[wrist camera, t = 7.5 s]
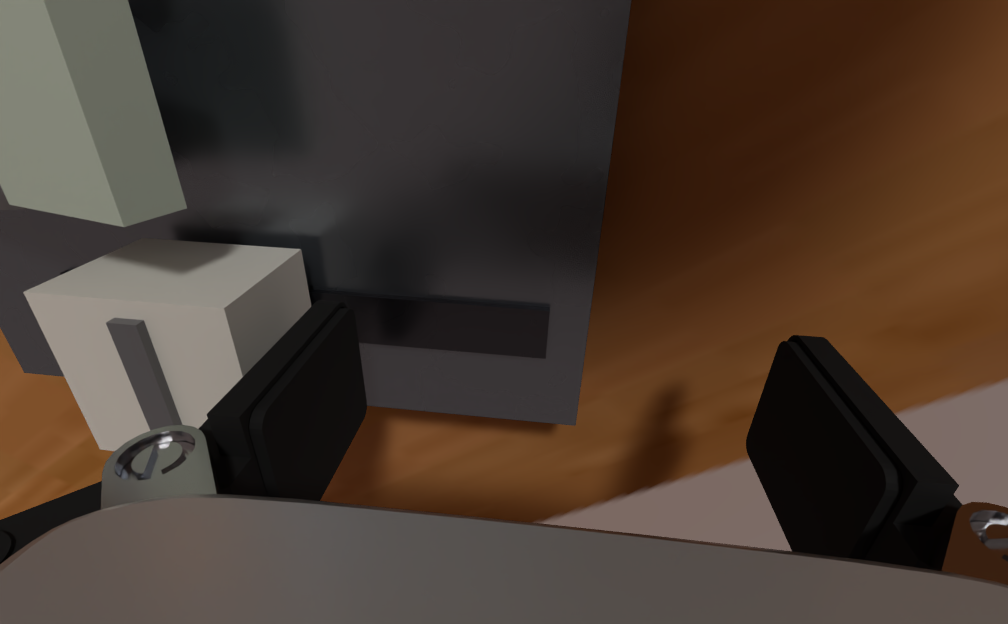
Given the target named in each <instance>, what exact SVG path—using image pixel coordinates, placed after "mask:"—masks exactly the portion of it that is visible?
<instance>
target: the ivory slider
mask: <svg viewBox="0 0 1008 624" xmlns="http://www.w3.org/2000/svg"><path fill="white" fill-rule="evenodd" d="M23 293H24V295H25V297H26V299H27V301H28V303H29V305H30V307H31V309H32V311H33V313H34V315H35V317H36V319H37V321H38V323H39V325H40V328H41V330H42V332H43V334H44V336H45V338H46V340H47V342H48V344H49V346H50V348H51V350H52V352H53V354H54V356H55V358H56V360H57V362H58V364H59V366H60V368H61V370H62V372H63V374H64V376H65V379H66V381H67V383H68V385H69V387H70V389H71V391H72V393H73V395H74V397H75V399H76V401H77V403H78V405H79V407H80V409H81V411H82V413H83V415H84V417H85V419H86V421H87V423H88V425H89V428H90V430H91V432H92V434H93V436H94V438H95V440H96V442H97V444H98V446H99V448H100V449H101V450H110V451H116V450H117V449H118V448H120V447H121V446H122V445H123V444H124V443H126V442H128V441H129V440H131V439H133V438H135V437H137V436H138V435H140V434H143V433H146V432H148V431H151V430H153V429H157V428H161V427H165V426H171V425H187V426H193V427H195V428H197V429H199V427H200V426H201V425H202V424H203V423H204V422H205V421H206V420H207V419H208V417H207V413H208V412H209V411H210V410H211V409H212V408H213V407H214V406H215V405H216V404H217V403H218V402H219V401H220V400H221V399H222V398H223V397H224V396H225V395H226V394H227V393H228V392H229V391H230V390H231V389H232V388H233V387H234V386H235V385H236V384H237V382H238V381H239V380H240V379H241V378H242V377H243V376H244V375H245V374H246V373H247V372H248V371H249V370H250V369H251V368H252V367H253V366H254V365H255V364H256V363H257V362H258V361H259V360H260V359H261V358H262V357H263V356H264V355H265V354H266V353H267V352H268V351H269V350H270V349H271V348H272V347H273V345H274V344H275V343H276V342H277V341H278V340H279V339H280V338H281V337H282V336H283V335H284V334H285V333H286V332H287V331H288V330H289V329H290V328H291V327H292V326H293V325H294V324H295V323H296V322H297V321H298V320H299V319H300V318H301V317H302V316H303V315H304V314H305V313H306V312H307V311H308V310H309V308H310V307H311V301H310V296H309V290H308V285H307V279H306V273H305V268H304V262H303V256H302V251H301V249H292V248H278V247H263V246H249V245H235V244H221V243H207V242H193V241H179V240H164V239H150V238H142V239H139V240H137V241H135V242H133V243H130V244H128V245H126V246H124V247H122V248H119V249H117V250H115V251H113V252H111V253H108V254H106V255H104V256H102V257H100V258H97V259H95V260H93V261H91V262H88V263H86V264H84V265H82V266H80V267H77V268H75V269H73V270H71V271H69V272H66V273H64V274H62V275H60V276H57V277H55V278H53V279H51V280H49V281H46V282H44V283H42V284H40V285H38V286H35V287H33V288H31V289H29V290H26V291H24V292H23Z"/></svg>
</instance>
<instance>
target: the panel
mask: <svg viewBox="0 0 1008 624" xmlns="http://www.w3.org/2000/svg"><path fill="white" fill-rule="evenodd" d="M128 2H129V6H130V9H131V13H132V16H133V20H134V23H135V27H136V30H137V34H138V37H139V41H140V44H141V48H142V51H143V55H144V58H145V62H146V65H147V69H148V72H149V76H150V79H151V83H152V86H153V90H154V93H155V97H156V100H157V104H158V107H159V111H160V114H161V118H162V121H163V125H164V128H165V132H166V135H167V139H168V143H169V146H170V150H171V153H172V157H173V160H174V164H175V167H176V171H177V174H178V178H179V181H180V185H181V188H182V192H183V195H184V199H185V202H186V206H187V208H186V209H183V210H180V211H176V212H173V213H170V214H166V215H163V216H160V217H156V218H153V219H150V220H146V221H143V222H140V223H136V224H133V225H130V226H126V227H121V226H116V225H111V224H105V223H100V222H95V221H90V220H85V219H80V218H75V217H70V216H65V215H60V214H55V213H49V212H44V211H39V210H34V209H29V208H28V209H17V210H0V328H1V330H2V332H3V333H4V335H5V337H6V339H7V341H8V343H9V345H10V347H11V348H12V350H13V352H14V354H15V356H16V358H17V360H18V361H19V363H20V365H21V367H22V369H23V371H24V373H33V374H43V375H54V376H64V374H63V372H62V370H61V368H60V366H59V364H58V362H57V360H56V358H55V356H54V354H53V352H52V350H51V348H50V346H49V344H48V342H47V340H46V338H45V336H44V334H43V332H42V330H41V328H40V325H39V323H38V321H37V319H36V317H35V315H34V313H33V311H32V309H31V307H30V305H29V303H28V301H27V299H26V297H25V295H24V293H23V292H24V291H26V290H29V289H31V288H33V287H35V286H38V285H40V284H42V283H44V282H46V281H49V280H51V279H53V278H55V277H57V276H60V275H62V274H64V273H66V272H69V271H71V270H73V269H75V268H77V267H80V266H82V265H84V264H86V263H88V262H91V261H93V260H95V259H97V258H100V257H102V256H104V255H106V254H108V253H111V252H113V251H115V250H117V249H119V248H122V247H124V246H126V245H128V244H130V243H133V242H135V241H137V240H139V239H142V238H150V239H164V240H179V241H193V242H207V243H221V244H235V245H249V246H263V247H278V248H292V249H301V251H302V256H303V262H304V268H305V273H306V279H307V285H308V290H309V296H310V301H311V306H312V305H313V304H314V303H315V302H317V301H318V300H322V301H335V302H344V303H345V304H346V306H347V308H348V309H352V310H353V311H354V313H355V319H356V326H357V334H358V341H359V348H360V356H361V363H362V370H363V378H364V385H365V392H366V400H367V406H376V407H387V408H397V409H408V410H418V411H429V412H439V413H449V414H460V415H470V416H481V417H491V418H501V419H512V420H522V421H533V422H543V423H553V424H564V425H574V426H575V425H576V417H577V410H578V402H579V395H580V387H581V379H582V372H583V364H584V357H585V349H586V341H587V334H588V326H589V319H590V311H591V303H592V296H593V288H594V281H595V273H596V265H597V258H598V250H599V243H600V235H601V227H602V220H603V212H604V205H605V197H606V189H607V182H608V174H609V167H610V159H611V151H612V144H613V136H614V129H615V121H616V113H617V106H618V98H619V91H620V83H621V75H622V68H623V60H624V53H625V45H626V37H627V30H628V22H629V15H630V7H631V0H128ZM64 377H65V376H64Z"/></svg>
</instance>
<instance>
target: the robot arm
mask: <svg viewBox="0 0 1008 624" xmlns="http://www.w3.org/2000/svg"><path fill="white" fill-rule="evenodd" d="M366 410H367V400H366V392H365V385H364V378H363V370H362V363H361V356H360V348H359V341H358V334H357V326H356V319H355V313H354V311H353V310H352V309H348V308H347V306H346V304H345V303H344V302H335V301H322V300H318V301H317V302H315V303H314V304H313V305H312V306H311V307H310V308H309V310H308V311H307V312H306V313H305V314H304V315H303V316H302V317H301V318H300V319H299V320H298V321H297V322H296V323H295V324H294V325H293V326H292V327H291V328H290V329H289V330H288V331H287V332H286V333H285V334H284V335H283V336H282V337H281V338H280V339H279V340H278V341H277V342H276V343H275V344H274V345H273V347H272V348H271V349H270V350H269V351H268V352H267V353H266V354H265V355H264V356H263V357H262V358H261V359H260V360H259V361H258V362H257V363H256V364H255V365H254V366H253V367H252V368H251V369H250V370H249V371H248V372H247V373H246V374H245V375H244V376H243V377H242V378H241V379H240V380H239V381H238V382H237V384H236V385H235V386H234V387H233V388H232V389H231V390H230V391H229V392H228V393H227V394H226V395H225V396H224V397H223V398H222V399H221V400H220V401H219V402H218V403H217V404H216V405H215V406H214V407H213V408H212V409H211V410H210V411H209V412H208V413H207V417H208V419H207V420H206V421H205V422H204V423H203V424H202V425H201V426H200V427H199V429H197V428H195V427H193V426H187V425H171V426H165V427H161V428H157V429H153V430H151V431H148V432H146V433H143V434H140V435H138V436H137V437H135V438H133V439H131V440H129V441H128V442H126V443H124V444H123V445H122V446H121V447H120V448H118V449H117V450H116V451H115V452H113V454H112V455H111V456H110V457H109V459H108V460H107V461H106V463H105V466H104V469H103V472H102V481H101V482H98V483H96V484H93V485H90V486H88V487H85V488H83V489H80V490H77V491H75V492H72V493H70V494H67V495H64V496H62V497H59V498H57V499H54V500H51V501H49V502H46V503H44V504H41V505H38V506H36V507H33V508H31V509H28V510H25V511H23V512H20V513H18V514H15V515H12V516H10V517H7V518H5V519H2V520H0V624H1008V508H1006V507H1003V506H999V505H995V504H990V503H983V502H982V503H981V502H971V503H968V504H965V505H962V504H961V503H960V502H959V500H958V499H957V498H956V497H955V496H954V495H953V494H954V493H955V491H956V490H957V488H958V487H959V485H958V484H957V483H956V481H955V480H954V479H953V478H952V477H951V476H950V475H949V474H948V473H947V472H946V470H945V469H944V468H943V467H942V466H941V465H940V464H939V463H938V462H937V461H936V460H935V458H934V457H933V456H932V455H931V454H930V453H929V452H928V451H927V450H926V448H925V447H924V446H923V445H922V444H921V443H920V442H919V441H918V440H917V439H916V437H915V436H914V435H913V434H912V433H911V432H910V431H909V430H908V429H907V427H906V426H905V425H904V424H903V423H902V422H901V421H900V420H899V419H898V418H897V416H896V415H895V414H894V413H893V412H892V411H891V410H890V409H889V408H888V407H887V405H886V404H885V403H884V402H883V401H882V400H881V399H880V398H879V397H878V395H877V394H876V393H875V392H874V391H873V390H872V389H871V388H870V387H869V386H868V384H867V383H866V382H865V381H864V380H863V379H862V378H861V377H860V376H859V375H858V373H857V372H856V371H855V370H854V369H853V368H852V367H851V366H850V365H849V364H848V362H847V361H846V360H845V359H844V358H843V357H842V356H841V355H840V354H839V352H838V351H837V350H836V349H835V348H834V347H833V346H832V345H831V344H830V343H829V341H828V340H827V339H825V338H823V337H812V336H799V335H793V336H791V337H790V338H789V339H788V341H783V342H781V343H780V344H779V346H778V349H777V352H776V354H775V357H774V360H773V363H772V366H771V369H770V372H769V375H768V378H767V380H766V383H765V386H764V389H763V392H762V395H761V398H760V401H759V403H758V406H757V409H756V412H755V415H754V418H753V421H752V424H751V426H750V429H749V432H748V435H747V439H746V448H747V453H748V455H749V457H750V460H751V462H752V464H753V466H754V468H755V470H756V473H757V475H758V477H759V479H760V482H761V484H762V486H763V488H764V490H765V492H766V495H767V497H768V499H769V501H770V503H771V506H772V508H773V510H774V512H775V514H776V516H777V519H778V521H779V523H780V525H781V527H782V530H783V532H784V534H785V536H786V539H787V541H788V543H789V545H790V547H791V549H792V551H783V550H773V549H765V548H756V547H748V546H738V545H730V544H720V543H712V542H703V541H694V540H685V539H677V538H668V537H659V536H650V535H641V534H631V533H622V532H613V531H604V530H594V529H586V528H576V527H566V526H558V525H548V524H539V523H529V522H520V521H511V520H501V519H492V518H482V517H473V516H463V515H453V514H443V513H433V512H423V511H414V510H404V509H394V508H384V507H374V506H364V505H354V504H344V503H334V502H324V501H320V500H321V498H322V496H323V494H324V492H325V490H326V488H327V487H328V485H329V483H330V481H331V479H332V477H333V475H334V473H335V472H336V470H337V468H338V466H339V464H340V462H341V460H342V459H343V457H344V455H345V453H346V451H347V449H348V447H349V446H350V444H351V442H352V440H353V438H354V436H355V434H356V432H357V431H358V429H359V427H360V425H361V423H362V421H363V419H364V417H365V414H366Z"/></svg>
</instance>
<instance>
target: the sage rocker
mask: <svg viewBox="0 0 1008 624" xmlns="http://www.w3.org/2000/svg"><path fill="white" fill-rule="evenodd" d="M28 208H29V209H34V210H39V211H44V212H49V213H55V214H60V215H65V216H70V217H75V218H80V219H85V220H90V221H95V222H100V223H105V224H111V225H116V226H121V227H126V226H130V225H133V224H136V223H140V222H143V221H146V220H150V219H153V218H156V217H160V216H163V215H166V214H170V213H173V212H176V211H180V210H183V209H186V208H187V206H186V202H185V199H184V195H183V192H182V188H181V185H180V181H179V178H178V174H177V171H176V167H175V164H174V160H173V157H172V153H171V150H170V146H169V143H168V139H167V135H166V132H165V128H164V125H163V121H162V118H161V114H160V111H159V107H158V104H157V100H156V97H155V93H154V90H153V86H152V83H151V79H150V76H149V72H148V69H147V65H146V62H145V58H144V55H143V51H142V48H141V44H140V41H139V37H138V34H137V30H136V27H135V23H134V20H133V16H132V13H131V9H130V6H129V2H128V0H0V210H17V209H28Z"/></svg>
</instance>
